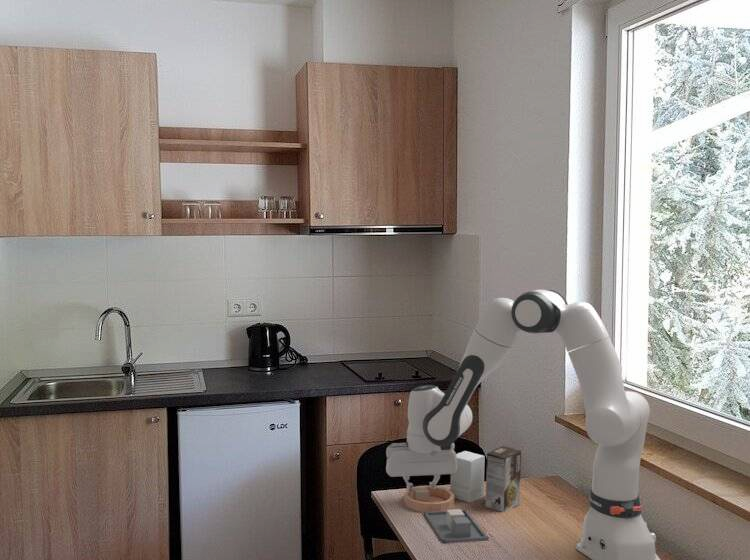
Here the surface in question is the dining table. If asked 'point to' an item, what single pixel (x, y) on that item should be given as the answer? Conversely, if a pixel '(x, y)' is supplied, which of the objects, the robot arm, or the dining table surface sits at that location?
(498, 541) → the dining table surface
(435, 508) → the bowl
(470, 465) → the supplement box
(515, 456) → the coffee box
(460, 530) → the grey cube
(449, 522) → the beige cube
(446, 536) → the tray
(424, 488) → the cube
